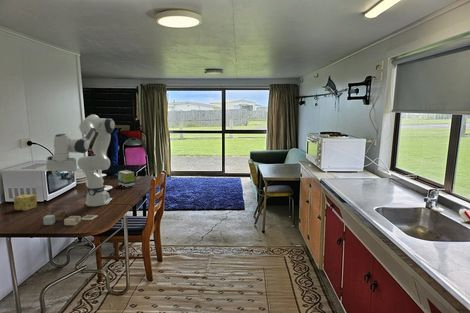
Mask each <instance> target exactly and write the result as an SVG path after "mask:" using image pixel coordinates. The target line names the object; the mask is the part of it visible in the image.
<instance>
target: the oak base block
mask: <svg viewBox="0 0 470 313" xmlns="http://www.w3.org/2000/svg"><path fill="white" fill-rule="evenodd" d="M81 218H82V217H81V216H80V215H70V216H68V217H65V218H64V219H63V224H64V226H77V224H79V223H80V222H82V220H81Z"/></svg>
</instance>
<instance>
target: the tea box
mask: <svg viewBox="0 0 470 313" xmlns="http://www.w3.org/2000/svg"><path fill="white" fill-rule="evenodd" d="M117 175H118V176H117V177H118V179H117V180H118V186H120V185H122V186H121V187H123V186H125V187H127V186H132V185H135V183H136V182H135V172H134V171H131V170H127V169H125V170H120V171H117ZM125 187H124V188H125ZM132 187H133V186H132ZM127 188H128V187H127Z"/></svg>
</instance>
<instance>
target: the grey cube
mask: <svg viewBox="0 0 470 313" xmlns="http://www.w3.org/2000/svg"><path fill="white" fill-rule="evenodd" d="M42 219H43V220H42V221H43V226H49V225H50V226H51V225H53V224H55V223H56V220H55V215H53V214H46V215H45V216H43V217H42Z"/></svg>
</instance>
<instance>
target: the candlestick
mask: <svg viewBox="0 0 470 313" xmlns="http://www.w3.org/2000/svg"><path fill="white" fill-rule="evenodd" d="M102 172H103V170H97V173H98V174H99V175H101V176H102V178H104V177H105V176H107V174H106V173H102ZM103 183H104V179H103ZM85 185H86V187H87V188H88V183H87V181H85ZM105 186H106V188H104V189H105V191H106V192H108V191H110V190H111V189H113V186H112V185H105Z"/></svg>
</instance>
